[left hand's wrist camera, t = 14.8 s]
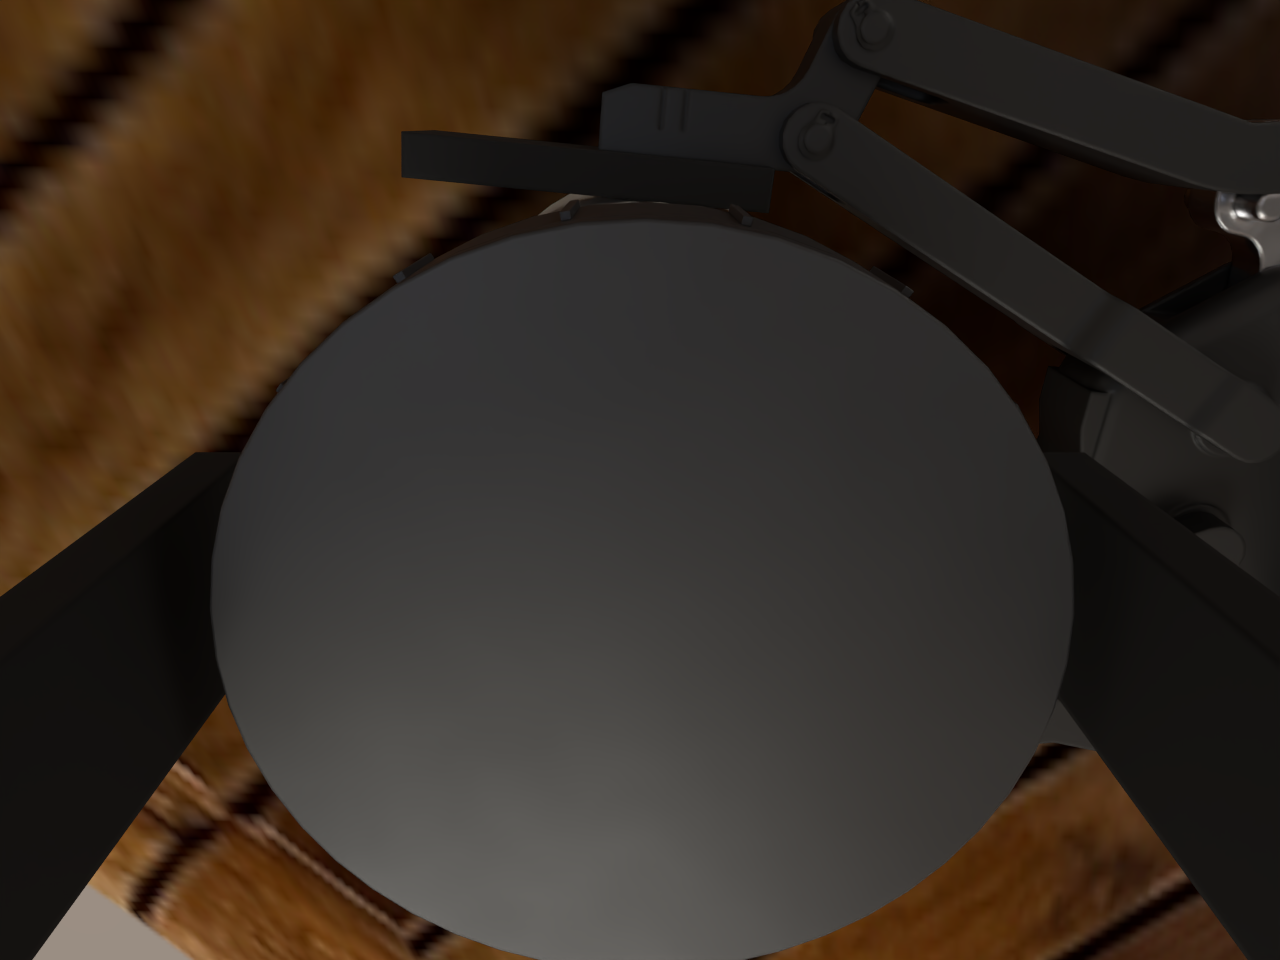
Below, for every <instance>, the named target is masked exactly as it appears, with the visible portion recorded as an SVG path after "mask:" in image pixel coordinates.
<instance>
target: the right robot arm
mask: <svg viewBox="0 0 1280 960" xmlns="http://www.w3.org/2000/svg"><path fill="white" fill-rule="evenodd" d="M874 89H877V90H880V91H883V92H886V93H889V94H892V95H894V96H897V97H900V98H903V99H906V100H909V101H911V102H914V103H917V104H920V105H923V106H926V107H928V108H931V109H934V110H937V111H940V112H943V113H946V114H948V115H951V116H954V117H957V118H960V119H963V120H965V121H968V122H971V123H974V124H977V125H980V126H983V127H985V128H988V129H991V130H994V131H997V132H1000V133H1002V134H1005V135H1008V136H1011V137H1014V138H1017V139H1019V140H1022V141H1025V142H1028V143H1031V144H1034V145H1037V146H1039V147H1042V148H1045V149H1048V150H1051V151H1054V152H1056V153H1059V154H1062V155H1065V156H1068V157H1071V158H1074V159H1076V160H1079V161H1082V162H1085V163H1088V164H1091V165H1093V166H1096V167H1099V168H1102V169H1105V170H1108V171H1110V172H1113V173H1116V174H1119V175H1122V176H1125V177H1128V178H1132V179H1136V180H1139V181H1143V182H1147V183H1154V184H1161V185H1169V186H1177V187H1184V188H1188V189H1187V191H1186V193H1185V195H1184V203H1185V205H1186V206H1187V208H1188V209H1189V212H1190V216H1191V218H1192V219H1193V221H1194V222H1195V224H1197V225H1198V226H1200V227H1201V228H1204V229H1208V230H1212V231H1216V232H1219V233H1220V234H1222V235H1223V236H1225V237H1226V238H1227V240H1228V241H1229V243H1230V245H1231V249H1232V262H1229V263H1227V264H1224V265H1222V266H1220V267H1218V268H1216V269H1215V270H1213V271H1211V272H1209V273H1207V274H1205V275H1203V276H1201V277H1199V278H1197V279H1196V280H1194V281H1192V282H1190V283H1188V284H1186V285H1184V286H1182V287H1180V288H1178V289H1177V290H1175V291H1173V292H1171V293H1169V294H1167V295H1165V296H1163V297H1161V298H1159V299H1158V300H1156V301H1154V302H1152V303H1150V304H1148V305H1146V306H1144V307H1142V308H1140V309H1139V310H1138V309H1136V308H1135V307H1133V306H1131V305H1130V304H1128V303H1126V302H1124V301H1122V300H1120V299H1119V298H1117V297H1115V296H1113V295H1111V294H1109V293H1108V292H1106V291H1105V290H1103V289H1101V288H1100V287H1098V286H1097V285H1096V284H1094V283H1093V282H1091V281H1090V280H1088V279H1087V278H1085V277H1084V276H1082V275H1081V274H1080V273H1078V272H1077V271H1075V270H1074V269H1072V268H1071V267H1069V266H1068V265H1066V264H1065V263H1064V262H1062V261H1061V260H1059V259H1058V258H1056V257H1055V256H1053V255H1052V254H1050V253H1049V252H1047V251H1046V250H1045V249H1043V248H1042V247H1040V246H1039V245H1037V244H1036V243H1034V242H1033V241H1031V240H1030V239H1029V238H1027V237H1026V236H1024V235H1023V234H1021V233H1020V232H1018V231H1017V230H1015V229H1014V228H1013V227H1011V226H1010V225H1008V224H1007V223H1005V222H1004V221H1002V220H1001V219H999V218H998V217H996V216H995V215H994V214H992V213H991V212H989V211H988V210H986V209H985V208H983V207H982V206H980V205H979V204H978V203H976V202H975V201H973V200H972V199H970V198H969V197H967V196H966V195H964V194H963V193H962V192H960V191H959V190H957V189H956V188H954V187H953V186H951V185H950V184H948V183H947V182H945V181H944V180H943V179H941V178H940V177H938V176H937V175H935V174H934V173H932V172H931V171H929V170H928V169H927V168H925V167H924V166H922V165H921V164H919V163H918V162H916V161H915V160H913V159H912V158H911V157H909V156H908V155H906V154H905V153H903V152H902V151H900V150H899V149H897V148H896V147H894V146H893V145H892V144H890V143H889V142H887V141H886V140H884V139H883V138H881V137H880V136H878V135H877V134H876V133H874V132H873V131H871V130H870V129H868V128H867V127H865V126H864V125H862V124H861V123H860V122H858V120H859V118H860V116H861V114H862V112H863V110H864V109H865V107H866V105H867V103H868V101H869V99H870V97H871V95H872V93H873V91H874ZM401 136H402V177H405V178H415V179H426V180H436V181H446V182H456V183H466V184H476V185H487V186H497V187H507V188H517V189H527V190H538V191H548V192H558V193H568V194H578V195H589V196H599V197H609V198H619V199H629V200H639V201H650V202H663V203H670V204H683V205H696V206H704V207H711V208H721V209H729V207H730V204H733V205H738V206H740V207H741V208H742V209H743V210H745V211H752V212H762V213H769V208H770V201H771V194H772V187H773V180H774V173H775V170H778V171H788V172H790V173H792V174H793V175H795V176H796V177H798V178H799V179H801V180H802V181H804V182H805V183H807V184H808V185H810V186H811V187H813V188H814V189H816V190H817V191H819V192H820V193H822V194H823V195H825V196H826V197H828V198H830V199H831V200H833V201H834V202H836V203H837V204H839V205H840V206H842V207H843V208H845V209H846V210H848V211H849V212H851V213H852V214H854V215H855V216H857V217H858V218H860V219H861V220H863V221H864V222H866V223H867V224H869V225H870V226H872V227H873V228H875V229H876V230H878V231H879V232H881V233H882V234H884V235H885V236H887V237H888V238H890V239H892V240H893V241H895V242H896V243H898V244H899V245H901V246H902V247H904V248H905V249H907V250H908V251H910V252H911V253H913V254H914V255H916V256H917V257H919V258H920V259H922V260H923V261H925V262H926V263H928V264H929V265H931V266H932V267H934V268H935V269H937V270H938V271H940V272H941V273H943V274H944V275H946V276H947V277H949V278H950V279H952V280H954V281H955V282H957V283H958V284H960V285H961V286H963V287H964V288H966V289H967V290H969V291H970V292H972V293H973V294H975V295H976V296H978V297H979V298H981V299H982V300H984V301H985V302H987V303H988V304H990V305H991V306H993V307H994V308H996V309H997V310H999V311H1000V312H1002V313H1003V314H1005V315H1006V316H1008V317H1009V318H1011V319H1012V320H1014V321H1015V322H1016V323H1017V324H1019V325H1020V326H1021V327H1023V328H1024V329H1026V330H1027V331H1029V332H1030V333H1032V334H1033V335H1035V336H1036V337H1038V338H1039V339H1041V340H1042V341H1044V342H1046V343H1047V344H1049V345H1050V346H1052V347H1053V348H1055V349H1056V350H1058V351H1059V352H1061V353H1062V354H1064V355H1065V356H1066V358H1065V359H1064V360H1063V362H1062V363H1061V365H1060V367H1053V366H1048V369H1047V373H1046V377H1045V380H1044V384H1043V388H1042V392H1041V395H1040V399H1039V426H1040V431H1039V436H1038V438H1037V440H1036V441H1037V443H1038V445H1039V446H1040V448H1041V450H1042V452H1085V453H1086V454H1087V455H1089V456H1090V457H1091V458H1093V459H1094V460H1096V461H1097V462H1098V463H1100V464H1101V465H1102V466H1104V467H1105V468H1106V469H1108V470H1109V471H1110V472H1112V473H1113V474H1114V475H1116V476H1117V477H1119V478H1120V479H1121V480H1123V481H1124V482H1125V483H1127V484H1128V485H1129V486H1131V487H1132V488H1133V489H1135V490H1136V491H1137V492H1139V493H1140V494H1141V495H1143V496H1144V497H1146V498H1147V499H1148V500H1150V501H1151V502H1152V503H1154V504H1155V505H1156V506H1158V507H1159V508H1160V509H1162V510H1163V511H1164V512H1166V513H1167V514H1168V515H1170V516H1171V517H1173V518H1174V519H1175V520H1177V521H1178V522H1179V523H1181V524H1182V525H1183V526H1185V527H1186V528H1187V529H1189V530H1190V531H1191V532H1193V533H1194V534H1195V535H1197V536H1198V537H1200V538H1201V539H1202V540H1204V541H1205V542H1206V543H1208V544H1209V545H1210V546H1212V547H1213V548H1214V549H1216V550H1217V551H1218V552H1220V553H1221V554H1222V555H1224V556H1225V557H1227V558H1228V559H1229V560H1231V561H1232V562H1233V563H1235V564H1236V565H1237V566H1239V567H1240V568H1241V569H1243V570H1244V571H1245V572H1247V573H1248V574H1250V575H1251V576H1252V577H1254V578H1255V579H1256V580H1258V581H1259V582H1260V583H1262V584H1263V585H1264V586H1266V587H1267V588H1268V589H1270V590H1271V591H1272V592H1274V593H1275V594H1277V595H1278V596H1279V597H1280V119H1255V120H1243V119H1240V118H1237V117H1235V116H1232V115H1229V114H1226V113H1224V112H1221V111H1218V110H1216V109H1213V108H1210V107H1207V106H1205V105H1202V104H1199V103H1196V102H1194V101H1191V100H1188V99H1185V98H1183V97H1180V96H1177V95H1175V94H1172V93H1169V92H1166V91H1164V90H1161V89H1158V88H1155V87H1153V86H1150V85H1147V84H1144V83H1142V82H1139V81H1136V80H1133V79H1131V78H1128V77H1125V76H1123V75H1120V74H1117V73H1114V72H1112V71H1109V70H1106V69H1103V68H1101V67H1098V66H1095V65H1092V64H1090V63H1087V62H1084V61H1081V60H1079V59H1076V58H1073V57H1071V56H1068V55H1065V54H1062V53H1060V52H1057V51H1054V50H1051V49H1049V48H1046V47H1043V46H1040V45H1038V44H1035V43H1032V42H1029V41H1027V40H1024V39H1021V38H1019V37H1016V36H1013V35H1010V34H1008V33H1005V32H1002V31H999V30H997V29H994V28H991V27H988V26H986V25H983V24H980V23H977V22H975V21H972V20H969V19H967V18H964V17H961V16H958V15H956V14H953V13H950V12H947V11H945V10H942V9H939V8H936V7H934V6H931V5H928V4H925V3H923V2H920V1H917V0H846V1H845V2H843V3H841V4H839V5H838V6H836V7H834V8H833V9H831V10H830V11H829V12H827V13H826V14H825V15H824V16H823V17H822V18H821V19H820V20H819V22H818V24H817V26H816V28H815V30H814V34H813V40H812V42H811V44H810V46H809V48H808V50H807V52H806V54H805V56H804V58H803V60H802V62H801V64H800V67H799V69H798V71H797V73H796V74H795V76H794V77H793V79H792V80H791V82H790V83H789V84H788V85H787V86H786V87H785V88H784V89H783V90H781V91H780V92H778V93H776V94H775V95H772V96H754V95H744V94H734V93H724V92H715V91H705V90H695V89H685V88H676V87H665V86H656V85H647V84H637V83H630V84H627V85H624V86H621V87H618V88H615V89H611V90H608V91H605V92H602V106H601V119H600V133H599V147H596V146H586V145H576V144H566V143H556V142H546V141H536V140H526V139H516V138H506V137H496V136H486V135H476V134H466V133H456V132H447V131H437V130H430V131H401ZM1051 742H1054V743H1059V744H1064V745H1069V746H1074V747H1079V748H1084V749H1089V750H1094V751H1096V750H1095V749H1094V747H1093V746H1092V745H1091V743H1090V742H1089V741H1088V739H1087V738H1086V736H1085V735H1084V734H1083V732H1082V731H1081V730H1080V728H1079V727H1078V725H1077V724H1076V723H1075V721H1074V720H1073V719H1072V717H1071V716H1070V714H1069V713H1068V712H1067V710H1066V709H1065V708H1064V706H1063V705H1062V703H1061V702H1060V701H1059V699H1058V698H1057V702H1056V705H1055V709H1054V711H1053V713H1052V716H1051V718H1050V720H1049V722H1048V725H1047V727H1046V729H1045V731H1044V733H1043V736H1042V738H1041V740H1040V742H1039V744H1041V743H1051Z"/></svg>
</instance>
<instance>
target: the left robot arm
mask: <svg viewBox="0 0 1280 960" xmlns="http://www.w3.org/2000/svg"><path fill="white" fill-rule="evenodd" d="M241 453H242V452H195V453H194V454H193V455H191V456H190V457H189V458H187V459H186V460H184V461H183V462H182V463H180V464H179V465H178V466H176V467H175V468H174V469H172V470H171V471H170V472H168V473H167V474H166V475H164V476H163V477H162V478H160V479H159V480H157V481H156V482H155V483H153V484H152V485H151V486H149V487H148V488H147V489H145V490H144V491H143V492H141V493H140V494H139V495H137V496H136V497H134V498H133V499H132V500H130V501H129V502H128V503H126V504H125V505H124V506H122V507H121V508H120V509H118V510H117V511H116V512H114V513H113V514H112V515H110V516H109V517H107V518H106V519H105V520H103V521H102V522H101V523H99V524H98V525H97V526H95V527H94V528H93V529H91V530H90V531H89V532H87V533H86V534H85V535H83V536H82V537H80V538H79V539H78V540H76V541H75V542H74V543H72V544H71V545H70V546H68V547H67V548H66V549H64V550H63V551H62V552H60V553H59V554H58V555H56V556H55V557H53V558H52V559H51V560H49V561H48V562H47V563H45V564H44V565H43V566H41V567H40V568H39V569H37V570H36V571H35V572H33V573H32V574H31V575H29V576H28V577H26V578H25V579H24V580H22V581H21V582H20V583H18V584H17V585H16V586H14V587H13V588H12V589H10V590H9V591H8V592H6V593H5V594H3V595H2V596H1V597H0V960H32V959H33V958H34V957H35V955H36V954H37V953H38V951H39V950H40V948H41V947H42V946H43V944H44V943H45V942H46V940H47V939H48V937H49V936H50V935H51V933H52V932H53V931H54V929H55V928H56V926H57V925H58V924H59V922H60V921H61V919H62V918H63V917H64V915H65V914H66V913H67V911H68V910H69V908H70V907H71V906H72V904H73V903H74V902H75V900H76V899H77V897H78V896H79V895H80V893H81V892H82V891H83V889H84V888H85V886H86V885H87V884H88V882H89V881H90V880H91V878H92V877H93V875H94V874H95V873H96V871H97V870H98V869H99V867H100V866H101V864H102V863H103V862H104V860H105V859H106V858H107V856H108V855H109V853H110V852H111V851H112V849H113V848H114V847H115V845H116V844H117V842H118V841H119V840H120V838H121V837H122V836H123V834H124V833H125V831H126V830H127V829H128V827H129V826H130V825H131V823H132V822H133V820H134V819H135V818H136V816H137V815H138V814H139V812H140V811H141V809H142V808H143V807H144V805H145V804H146V803H147V801H148V800H149V798H150V797H151V796H152V794H153V793H154V792H155V790H156V789H157V787H158V786H159V785H160V783H161V782H162V780H163V779H164V778H165V776H166V775H167V774H168V772H169V771H170V769H171V768H172V767H173V765H174V764H175V763H176V761H177V760H178V758H179V757H180V756H181V754H182V753H183V752H184V750H185V749H186V747H187V746H188V745H189V743H190V742H191V741H192V739H193V738H194V736H195V735H196V734H197V732H198V731H199V730H200V728H201V727H202V725H203V724H204V723H205V721H206V720H207V719H208V717H209V716H210V714H211V713H212V712H213V710H214V709H215V708H216V706H217V705H218V703H219V702H220V701H221V699H222V698H223V697H224V695H225V691H224V687H223V683H222V680H221V676H220V672H219V669H218V665H217V661H216V656H215V648H214V640H213V632H212V623H211V615H210V591H211V559H212V553H213V548H214V543H215V537H216V532H217V527H218V522H219V516H220V511H221V507H222V504H223V501H224V498H225V495H226V493H227V490H228V487H229V484H230V481H231V479H232V476H233V473H234V470H235V467H236V465H237V462H238V459H239V457H240V455H241ZM1043 454H1044V456H1045V458H1046V460H1047V462H1048V465H1049V467H1050V470H1051V473H1052V476H1053V479H1054V482H1055V485H1056V488H1057V491H1058V494H1059V497H1060V500H1061V503H1062V506H1063V509H1064V512H1065V517H1066V523H1067V528H1068V534H1069V540H1070V546H1071V551H1072V557H1073V564H1074V621H1073V628H1072V635H1071V643H1070V650H1069V658H1068V664H1067V667H1066V671H1065V674H1064V678H1063V681H1062V685H1061V688H1060V692H1059V695H1058V699H1059V701H1060V702H1061V703H1062V705H1063V706H1064V708H1065V709H1066V710H1067V712H1068V713H1069V714H1070V716H1071V717H1072V719H1073V720H1074V721H1075V723H1076V724H1077V725H1078V727H1079V728H1080V730H1081V731H1082V732H1083V734H1084V735H1085V736H1086V738H1087V739H1088V741H1089V742H1090V743H1091V745H1092V746H1093V747H1094V749H1095V750H1096V752H1097V753H1098V754H1099V756H1100V757H1101V758H1102V760H1103V761H1104V763H1105V764H1106V765H1107V767H1108V768H1109V769H1110V771H1111V772H1112V774H1113V775H1114V776H1115V778H1116V779H1117V780H1118V782H1119V783H1120V785H1121V786H1122V787H1123V789H1124V790H1125V791H1126V793H1127V794H1128V796H1129V797H1130V798H1131V800H1132V801H1133V803H1134V804H1135V805H1136V807H1137V808H1138V809H1139V811H1140V812H1141V814H1142V815H1143V816H1144V818H1145V819H1146V820H1147V822H1148V823H1149V825H1150V826H1151V827H1152V829H1153V830H1154V831H1155V833H1156V834H1157V836H1158V837H1159V838H1160V840H1161V841H1162V842H1163V844H1164V845H1165V847H1166V848H1167V849H1168V851H1169V852H1170V853H1171V855H1172V856H1173V858H1174V859H1175V860H1176V862H1177V863H1178V864H1179V866H1180V867H1181V869H1182V870H1183V871H1184V873H1185V874H1186V875H1187V877H1188V878H1189V880H1190V881H1191V882H1192V884H1193V885H1194V886H1195V888H1196V889H1197V891H1198V892H1199V893H1200V895H1201V896H1202V897H1203V899H1204V900H1205V902H1206V903H1207V904H1208V906H1209V907H1210V908H1211V910H1212V911H1213V913H1214V914H1215V915H1216V917H1217V918H1218V920H1219V921H1220V922H1221V924H1222V925H1223V926H1224V928H1225V929H1226V931H1227V932H1228V933H1229V935H1230V936H1231V937H1232V939H1233V940H1234V942H1235V943H1236V944H1237V946H1238V947H1239V948H1240V950H1241V951H1242V953H1243V954H1244V955H1245V957H1246V958H1247V959H1248V960H1280V597H1279V596H1278V595H1277V594H1275V593H1274V592H1272V591H1271V590H1270V589H1268V588H1267V587H1266V586H1264V585H1263V584H1262V583H1260V582H1259V581H1258V580H1256V579H1255V578H1254V577H1252V576H1251V575H1250V574H1248V573H1247V572H1245V571H1244V570H1243V569H1241V568H1240V567H1239V566H1237V565H1236V564H1235V563H1233V562H1232V561H1231V560H1229V559H1228V558H1227V557H1225V556H1224V555H1222V554H1221V553H1220V552H1218V551H1217V550H1216V549H1214V548H1213V547H1212V546H1210V545H1209V544H1208V543H1206V542H1205V541H1204V540H1202V539H1201V538H1200V537H1198V536H1197V535H1195V534H1194V533H1193V532H1191V531H1190V530H1189V529H1187V528H1186V527H1185V526H1183V525H1182V524H1181V523H1179V522H1178V521H1177V520H1175V519H1174V518H1173V517H1171V516H1170V515H1168V514H1167V513H1166V512H1164V511H1163V510H1162V509H1160V508H1159V507H1158V506H1156V505H1155V504H1154V503H1152V502H1151V501H1150V500H1148V499H1147V498H1146V497H1144V496H1143V495H1141V494H1140V493H1139V492H1137V491H1136V490H1135V489H1133V488H1132V487H1131V486H1129V485H1128V484H1127V483H1125V482H1124V481H1123V480H1121V479H1120V478H1119V477H1117V476H1116V475H1114V474H1113V473H1112V472H1110V471H1109V470H1108V469H1106V468H1105V467H1104V466H1102V465H1101V464H1100V463H1098V462H1097V461H1096V460H1094V459H1093V458H1091V457H1090V456H1089V455H1087V454H1086V453H1085V452H1043Z"/></svg>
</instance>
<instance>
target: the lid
mask: <svg viewBox="0 0 1280 960" xmlns="http://www.w3.org/2000/svg"><path fill="white" fill-rule="evenodd" d="M393 277H394V279H395V280H396V282H397V284H396V285H394V286H393V287H392V288H390V289H389V290H387V291H386V292H385V293H383V294H382V295H380V296H379V297H378V298H376V299H375V300H373V301H372V302H371V303H369V304H368V305H366V306H365V307H364V308H362V309H361V310H359V311H358V312H357V313H355V314H354V315H352V316H351V317H350V318H348V319H347V320H345V321H344V322H343V323H342V324H341V325H340V326H339V327H338V328H337V329H335V330H334V331H333V332H332V333H331V334H330V335H329V336H328V337H327V338H326V339H325V340H324V341H323V342H322V343H321V344H320V345H319V346H318V347H317V348H316V349H315V350H314V351H313V352H312V353H311V354H310V355H309V356H307V357H306V358H305V359H304V360H303V361H302V362H301V363H300V364H299V366H298V367H297V368H296V370H295V371H294V372H293V374H292V375H291V376H290V377H289V378H288V379H286V380H285V381H283V382H282V383H281V384H280V385H279V387H278V388H277V390H276V391H277V392H278V393H277V395H276V396H275V397H274V399H273V400H272V401H271V402H270V404H269V405H268V406H267V408H266V409H265V411H264V413H263V414H262V416H261V418H260V420H259V422H258V424H257V425H256V427H255V429H254V431H253V433H252V435H251V436H250V438H249V440H248V442H247V444H246V446H245V448H244V449H243V451H242V453H241V455H240V457H239V459H238V462H237V465H236V467H235V470H234V473H233V476H232V479H231V481H230V484H229V487H228V490H227V493H226V495H225V498H224V501H223V504H222V507H221V511H220V516H219V522H218V527H217V532H216V537H215V543H214V548H213V553H212V559H211V591H210V615H211V623H212V632H213V640H214V648H215V656H216V661H217V665H218V669H219V672H220V676H221V680H222V683H223V687H224V691H225V694H226V698H227V702H228V705H229V708H230V710H231V712H232V715H233V717H234V719H235V721H236V724H237V726H238V728H239V731H240V733H241V735H242V738H243V740H244V742H245V745H246V747H247V749H248V751H249V752H250V754H251V756H252V757H253V759H254V761H255V762H256V764H257V766H258V767H259V769H260V771H261V772H262V774H263V776H264V777H265V779H266V781H267V782H268V784H269V786H270V787H271V789H272V790H273V792H274V793H275V794H276V795H277V797H278V798H279V799H280V800H281V802H282V803H283V804H284V805H285V807H286V808H287V809H288V810H289V812H290V813H291V814H292V816H293V817H294V818H295V819H296V821H297V822H298V823H299V824H300V826H301V827H302V828H303V829H304V830H305V831H306V832H307V833H308V834H309V835H310V836H311V837H312V838H313V839H314V840H315V841H316V842H317V843H318V844H319V845H320V846H321V847H323V848H324V849H325V850H326V851H327V852H328V853H329V854H330V855H331V856H332V857H333V858H334V859H335V860H336V861H337V862H338V863H340V864H341V865H342V866H344V867H345V868H346V869H347V870H349V871H350V872H351V873H353V874H354V875H355V876H356V877H358V878H359V879H360V880H362V881H363V882H364V883H365V884H367V885H368V886H369V887H371V888H372V889H373V890H375V891H377V892H378V893H380V894H381V895H383V896H385V897H386V898H388V899H390V900H391V901H393V902H394V903H396V904H398V905H399V906H401V907H403V908H404V909H406V910H407V911H409V912H411V913H412V914H414V915H417V916H419V917H421V918H423V919H425V920H427V921H429V922H431V923H433V924H435V925H437V926H440V927H442V928H444V929H446V930H448V931H450V932H452V933H454V934H457V935H460V936H462V937H465V938H468V939H471V940H473V941H476V942H479V943H482V944H485V945H487V946H490V947H493V948H496V949H499V950H502V951H506V952H510V953H514V954H518V955H522V956H526V957H530V958H534V959H538V960H745V959H749V958H753V957H758V956H762V955H766V954H770V953H774V952H778V951H782V950H785V949H788V948H790V947H793V946H796V945H799V944H802V943H805V942H808V941H811V940H813V939H816V938H819V937H822V936H825V935H827V934H829V933H831V932H834V931H836V930H838V929H840V928H842V927H844V926H846V925H849V924H851V923H853V922H855V921H857V920H859V919H861V918H864V917H866V916H868V915H870V914H871V913H873V912H874V911H876V910H878V909H879V908H881V907H883V906H884V905H886V904H888V903H889V902H891V901H893V900H894V899H896V898H898V897H899V896H901V895H903V894H904V893H906V892H908V891H909V890H910V889H912V888H913V887H914V886H916V885H917V884H918V883H920V882H921V881H922V880H924V879H925V878H926V877H928V876H929V875H930V874H931V873H933V872H934V871H935V870H937V869H938V868H939V867H941V866H942V865H943V864H945V863H946V862H947V861H948V860H949V859H950V858H951V857H952V856H953V855H954V854H955V853H956V852H957V851H958V850H959V849H960V848H961V847H963V846H964V845H965V844H966V843H967V842H968V841H969V840H970V839H971V838H972V837H973V836H974V835H975V834H976V833H977V832H978V831H979V830H980V829H981V828H982V827H983V825H984V824H985V823H986V822H987V820H988V819H989V818H990V817H991V816H992V814H993V813H994V812H995V811H996V809H997V808H998V807H999V806H1000V804H1001V803H1002V802H1003V801H1004V800H1005V798H1006V797H1007V796H1008V795H1009V793H1010V792H1011V790H1012V789H1013V787H1014V785H1015V784H1016V782H1017V781H1018V779H1019V777H1020V776H1021V774H1022V773H1023V771H1024V769H1025V768H1026V766H1027V765H1028V763H1029V761H1030V760H1031V758H1032V757H1033V755H1034V753H1035V751H1036V749H1037V747H1038V745H1039V742H1040V740H1041V738H1042V736H1043V733H1044V731H1045V729H1046V727H1047V725H1048V722H1049V720H1050V718H1051V716H1052V713H1053V711H1054V709H1055V705H1056V702H1057V698H1058V695H1059V692H1060V688H1061V685H1062V681H1063V678H1064V674H1065V671H1066V667H1067V664H1068V658H1069V650H1070V643H1071V635H1072V628H1073V621H1074V564H1073V557H1072V551H1071V546H1070V540H1069V534H1068V528H1067V523H1066V517H1065V512H1064V509H1063V506H1062V503H1061V500H1060V497H1059V494H1058V491H1057V488H1056V485H1055V482H1054V479H1053V476H1052V473H1051V470H1050V467H1049V465H1048V462H1047V460H1046V458H1045V456H1044V454H1043V452H1042V450H1041V448H1040V446H1039V445H1038V443H1037V441H1036V439H1035V437H1034V435H1033V433H1032V431H1031V429H1030V427H1029V426H1028V424H1027V422H1026V420H1025V418H1024V416H1023V414H1022V412H1021V410H1020V408H1019V406H1018V405H1017V404H1016V403H1015V402H1014V401H1013V400H1012V399H1011V398H1010V396H1009V395H1008V394H1007V392H1006V391H1005V390H1004V388H1003V387H1002V386H1001V384H1000V383H999V381H998V380H997V379H996V377H995V376H994V375H993V373H992V372H991V371H990V369H989V368H988V367H987V366H986V365H985V364H984V363H983V362H982V361H981V360H980V359H979V358H978V357H977V356H976V355H975V354H974V353H973V352H972V351H971V350H970V349H969V348H968V347H967V346H966V345H965V344H964V343H963V342H962V341H961V340H960V339H959V338H958V337H957V336H956V335H955V334H954V333H953V332H952V331H951V330H950V329H949V328H948V327H947V326H946V325H945V324H943V323H942V322H940V321H939V320H938V319H936V318H935V317H934V316H932V315H931V314H930V313H928V312H927V311H925V310H924V309H923V308H921V307H920V306H919V305H917V304H916V303H915V302H913V301H912V300H910V299H909V297H910V296H911V294H912V293H913V292H914V291H913V290H912V289H910V288H909V287H907V286H906V285H904V284H903V283H901V282H899V281H898V280H896V279H894V278H893V277H891V276H890V275H888V274H886V273H885V272H883V271H881V270H880V269H878V268H876V267H875V266H873V267H872V269H871V270H870V271H868V270H866V269H865V268H863V267H862V266H860V265H858V264H857V263H855V262H854V261H852V260H850V259H848V258H846V257H844V256H843V255H841V254H839V253H837V252H835V251H833V250H831V249H829V248H828V247H826V246H824V245H822V244H820V243H818V242H816V241H814V240H813V239H811V238H809V237H807V236H804V235H802V234H799V233H796V232H793V231H791V230H788V229H785V228H782V227H780V226H777V225H774V224H771V223H769V222H766V221H763V220H760V219H758V218H755V217H752V216H750V215H749V214H748V213H747V212H746V211H745V210H743V209H742V208H741V207H740V206H738V205H733V204H730V207H729V212H727V211H722V210H718V209H713V208H708V207H704V206H696V205H683V204H669V203H656V202H631V203H615V204H599V205H587V206H582V207H580V204H579V200H578V199H577V200H571V201H569V202H568V203H567V204H566V206H565V207H564V208H563V209H562V210H561V211H557V212H552V213H547V214H542V215H537V216H533V217H530V218H527V219H525V220H522V221H519V222H516V223H513V224H510V225H507V226H505V227H502V228H499V229H496V230H493V231H490V232H488V233H485V234H482V235H480V236H478V237H476V238H474V239H472V240H470V241H468V242H466V243H465V244H463V245H461V246H459V247H457V248H455V249H453V250H451V251H449V252H447V253H445V254H443V255H441V256H439V257H437V258H436V259H434V257H433V256H432V254H431V253H429V254H428V255H426V256H424V257H423V258H421V259H420V260H418V261H416V262H415V263H413V264H412V265H410V266H408V267H407V268H405V269H403V270H402V271H400V272H399V273H397V274H395V275H394V276H393Z"/></svg>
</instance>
